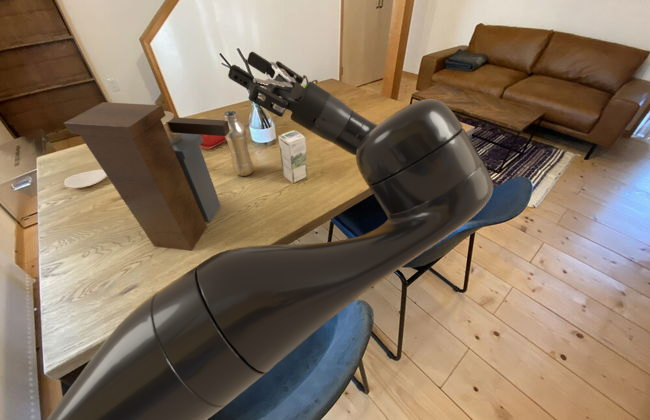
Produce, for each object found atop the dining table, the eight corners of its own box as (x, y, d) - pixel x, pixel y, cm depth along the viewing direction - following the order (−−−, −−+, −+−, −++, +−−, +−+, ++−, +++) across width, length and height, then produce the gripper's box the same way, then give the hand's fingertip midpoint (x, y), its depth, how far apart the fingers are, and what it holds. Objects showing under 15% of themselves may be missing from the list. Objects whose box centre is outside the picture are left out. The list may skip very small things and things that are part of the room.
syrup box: (297, 169, 91) (293, 128, 81) (308, 177, 88) (305, 135, 78) (282, 176, 89) (277, 134, 79) (293, 184, 85) (288, 142, 75)
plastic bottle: (240, 181, 87) (224, 120, 73) (231, 171, 90) (214, 112, 77) (258, 173, 90) (246, 114, 76) (248, 164, 93) (235, 106, 80)
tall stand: (194, 252, 66) (129, 127, 44) (148, 247, 67) (63, 122, 45) (211, 226, 72) (161, 105, 51) (169, 221, 74) (103, 102, 52)
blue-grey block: (212, 224, 73) (182, 151, 58) (170, 220, 74) (130, 147, 59) (224, 204, 78) (200, 133, 64) (185, 201, 80) (153, 130, 65)
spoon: (180, 164, 94) (177, 155, 92) (68, 196, 82) (60, 187, 79) (175, 152, 100) (172, 144, 98) (69, 181, 87) (62, 172, 85)
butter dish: (208, 152, 100) (201, 130, 94) (190, 143, 105) (182, 122, 99) (233, 140, 106) (228, 119, 101) (215, 131, 112) (209, 111, 106)
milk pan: (223, 154, 57) (216, 131, 53) (135, 147, 59) (123, 125, 56) (237, 136, 63) (232, 114, 59) (157, 130, 65) (147, 109, 61)
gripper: (336, 83, 54) (260, 32, 50) (326, 112, 43) (229, 52, 39) (318, 114, 59) (247, 70, 55) (305, 147, 48) (216, 97, 44)
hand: (240, 63), depth 47 cm, fingers open, 8 cm apart
